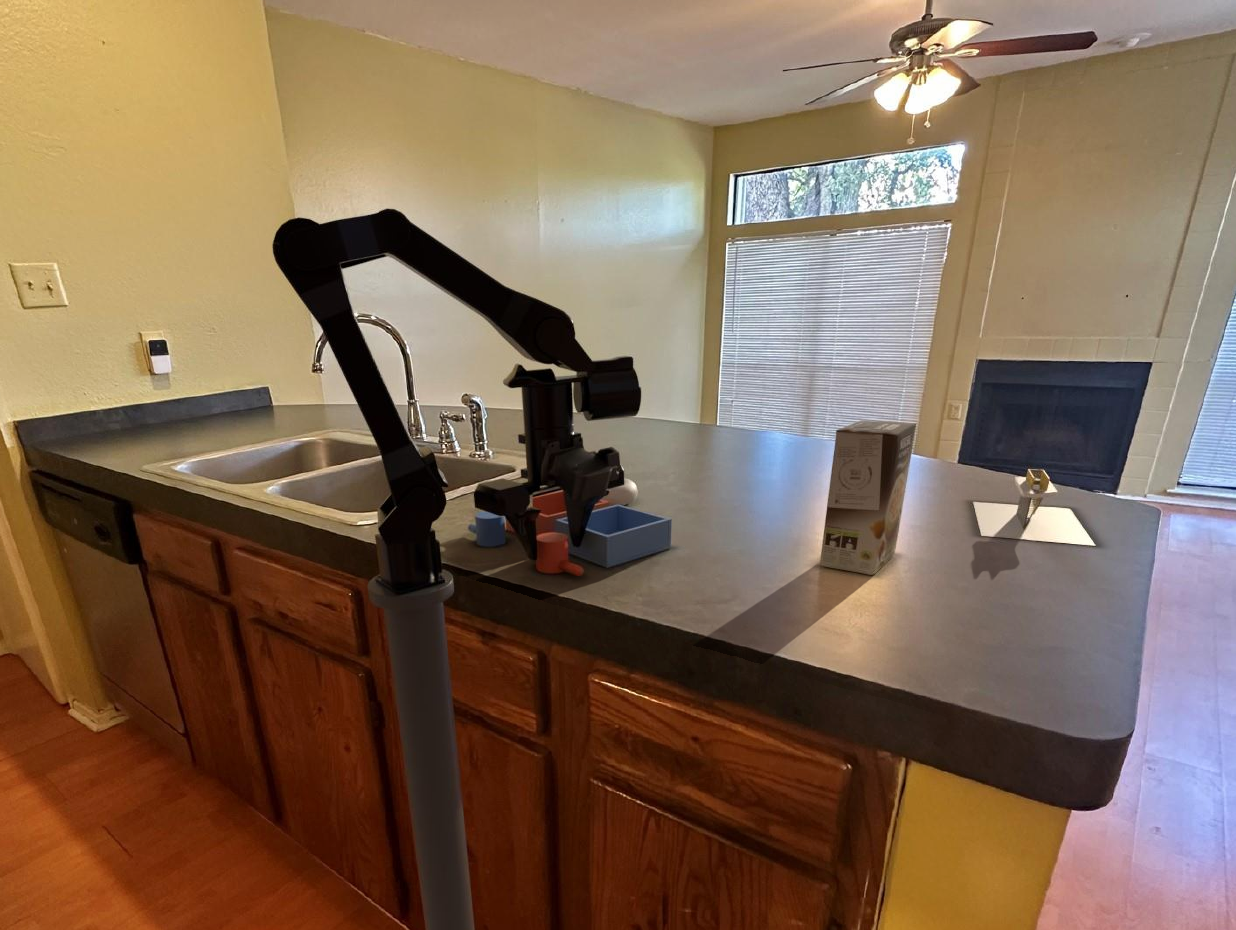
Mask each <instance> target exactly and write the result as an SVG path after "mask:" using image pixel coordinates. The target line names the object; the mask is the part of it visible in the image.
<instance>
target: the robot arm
mask: <svg viewBox="0 0 1236 930" xmlns="http://www.w3.org/2000/svg"><path fill="white" fill-rule="evenodd" d="M271 247H272V254H273V258H274V261H275V263H276V265H277V267H278V268H279V270H280V271H281V273H282V274H283V276H284V277H285V278H286V280H287V281H288V283H289V284H290V286H291V287H292V288H293V290H294V291H295V293H296V295H297V296H298V297H299V299H300V300H301V302H302V303H303V304H304V306H305V308H307V310H308V311H309V312H310V314H311V315H312V317H313V318H314V320H315V321H316V322H317V324H318V325H319V326H320V328H321V330H322V332H323V335H324V337H325V339H326V341H327V343H328V345H329V347H330V349H331V352H332V353H333V355H334V358H335V360H336V361H337V364H338V366H339V368H340V370H341V372H342V375H343V377H344V379H345V380H346V382H347V385H348V388H349V389H350V391H351V394H352V396H353V397H354V400H355V402H356V404H357V406H358V408H359V411H360V412H361V414H362V416H363V418H364V421H365V422H366V425H367V427H368V429H369V431H370V433H371V435H372V437H373V440H374V443H375V444H376V446H377V448H378V451H379V453H380V457H381V461H382V464H383V469H384V472H385V476H386V480H387V484H388V489H389V491H390V494H389V495H388V496H387V498H386V499H385V500H384V501H383V502H382V503H381V504H380V506H378V508H377V513H376V514H377V531H378V533H377V534H374V538H375V546H376V555H377V562H378V569H379V575H380V576H378V575H376V576H374V577H375V581H376V582H378V583H379V584H381V585H382V586H384V587H385V588H387V589H388V590H390V591H391V592H393V593H394V594H396V595H402V594H406V593H409V592H413V591H416V590H420V589H423V588H427V587H430V586H434V585H438V584H441V583H445V582H446V577H444V576H442V575H440V573H442V569H443V563H442V561H443V560H442V551H441V542H440V540H439V539H437V537H436V530H435V529H434V528H432V526H433V523H434V522H435V521H437V520H438V519H439V518H440V517H441V516H442V515H443V513H444V511H445V509H446V506H447V496H446V491H445V488H449V483H448V481H447V478H446V476H445V474H444V472H442V471H441V469H440V468H439V467H438V463H437V458H436V456H435V455H436V454H435V452H434V451H433V448H432V446H431V444H430V443H428V444H425V445H424V446H423V447H421V448H419V447H418V445H417V444H416V442H415V441H414V439H413V438H412V437H411V436H410V434H409V432H408V430H407V428H406V426H405V423H404V421H403V419H402V417H401V414H400V412H399V410H398V408H397V405H396V404H395V401H394V398H393V396H392V394H391V392H390V390H389V388H388V386H387V383H386V381H385V379H384V377H383V374H382V373H381V369H380V368H379V365H378V363H377V361H376V359H375V357H374V355H373V352H372V350H371V347H370V346H369V344H368V342H367V341H368V340H367V339H366V337H365V335H364V333H363V330H362V328H361V326H360V324H359V322H358V319H357V317H356V315H355V311H354V308H353V305H352V300H351V297H350V293H349V289H348V286H347V282H346V277H345V273H344V271H343V270H344V269H348V268H352V267H356V266H359V265H362V264H365V263H369V262H372V261H376V260H380V259H383V258H387V257H388V258H391V259H393V260H394V261H395V262H398V263H399V264H400V265H402V266H404V267H405V268H407V269H408V270H410V271H411V272H413V273H414V274H416V275H418V276H419V277H421V278H422V279H424V280H425V281H427V282H428V283H430V284H431V285H433V286H434V287H436V288H437V289H439V290H441V291H442V292H444V293H445V294H447V295H448V296H450V297H452V298H453V299H455V300H456V301H458V303H461V304H462V305H463V306H465V307H466V308H468V309H470V310H471V311H473V312H474V313H476V314H477V315H479V316H480V317H482V318H483V319H484V320H485V321H486V322H487V323H488V324H489V325H491V326H492V328H493V329H494V330H495V331H496V332H497V333H498V334H499V335H500V336H501V337H502V338H503V339H504V340H505V341H506V342H507V343H508V344H509V345H510V346H512V348H514V350H515V351H517V352H518V353H519V354H520V355H521V356H522V357H524V358H525V359H527V360H529V361H531V362H535V363H539V364H543V365H554V366H555V367H557V368H560V369H564V370H567V371H571V372H575V374H573V375H559V376H556V374H555V372H554V371H553V369H552V368H550V367H549V368H537V369H526V368H525V367H524V366H523V365H522V364H520V363H515V364H514V366H513V368H512V370H511V372H510V373H509V374H508V375H507V376H506V377H505V378H504V379H503V380H502V384H503V385H504V386H506V387H508V388H509V389H518V388H519V389H521V402H522V404H521V405H522V416H523V417H522V418H523V433H518V434H517V438H518V439H517V440H518V444H522V445H524V447H525V461H526V467H524V468H520V469H519V470H520V478H521V479H526V480H527V481H525V482H518V481H514V480H510V479H506V478H504V477H503V478H498V479H494V480H489V481H485V482H481V483H478V484H477V486H476V488H475V489H474V492H473V503H474V508H475V509H477V510H481V511H482V512H484V511H486V512H489V513H492V514H495V515H498V516H504V519H505V520H506V519H507V521H508V522H509V523H510V525H511V526H512V528H513V530H514V531H515V533H514V534H516V537H517V539H518V541H519V542H520V544H521V546H522V548H523V550H524V552H525V553H526V555H527V557H528V559H529V560H530V561H533V562H536V560H537V535H536V519H537V517H538V516H539V514H540V512H541V510H539V509H536V508H533V497H537V496H541V495H545V494H549V493H553V492H558V491H562V490H563V493H564V500H565V506H566V513H567V519H568V526H569V532H570V537H571V541H572V544H573V546H575V547H580V546H581V543H582V540H583V536H584V533H585V530H586V527H587V524H588V521H589V518H590V515H591V513H592V510H593V508H594V506H595V504H596V503H597V502H598V501H599V500H601V499H602V498H603V497H604V496H607V495H608V494H609V492H610V491H608V490H607V489H611V488H615V487H619V486H623V485H624V484H625V483H624V478H625V468H623V467H622V464H621V458H620V451H619V450H617V449H616V448H614V447H613V446H610V447H609V446H608V447H604V448H600V449H599V450H598V451H596V450H593V451H587V450H586V449H585V446H584V438H583V437H582V433H581V432H576V431H575V425H574V408H575V411H576V413H578V414H583V417H584V418H585V420H586V421H587V422H592V421H593V422H594V421H601V420H612V419H624V418H633V417H637V415H638V414H639V412H640V408H641V403H642V387H641V386H640V382H639V377H638V374H637V371H636V369H635V367H634V357H632V356H629V355H621V356H615V357H612V358H606V359H605V358H604V359H595V360H592V359H591V356H589V354H588V353H587V352H586V350H585V349H584V348H583V346H582V345H581V344H580V342H579V341H578V340H577V339H576V329H575V324H574V321H573V319H572V317H571V316H570V315H568V314H567V312H565V310H562V309H561V308H558V307H556V306H554V305H553V304H550V303H547V302H545V301H543V300H541V299H538V298H536V297H533V296H530V295H528V294H525V293H522V292H520V291H517V290H515V289H513V288H510V287H508V286H506V285H504V284H503V283H501V282H500V281H498V280H497V279H495V278H494V277H492V276H491V275H489V274H488V273H486V272H485V271H483V270H482V269H481V268H479V267H478V266H476V265H475V264H473V263H472V262H470V261H468V260H467V259H466V258H465V257H463V256H461V255H460V254H459V253H457V252H456V251H454V250H453V249H451V248H450V247H448V246H447V245H445V244H444V243H443V242H441V241H439V240H438V239H436V238H435V237H434V236H433V235H431V234H429V233H427V232H426V231H425V230H423V229H422V228H421V227H419V226H417V225H416V224H414V223H413V222H412V221H411V220H409V219H408V218H407V216H406V215H405V214H404V213H403V212H402V211H399V210H398V209H395V208H384V209H382V210H379V211H378V212H375V213H371V214H365V215H359V216H353V217H347V218H340V219H335V220H331V221H327V222H322V223H319V222H317V221H315V220H313V219H311V218H306V217H295V218H290V219H288V220H286V221H284V223H282V224H281V225H280V226H279V227H278V229H277V230H276V231H275V234H274V238H273V241H272V245H271Z"/></svg>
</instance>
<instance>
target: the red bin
mask: <svg viewBox="0 0 1236 930" xmlns="http://www.w3.org/2000/svg"><path fill="white" fill-rule="evenodd" d="M606 507H609V502H607V501H604V500H599V501H598V502H597V503H596V504H595V506H594V508H593V510H592V511H594V510H598V509H602V508H606ZM533 508H536V509H539V510H541V512H540V514H539V516H538V517H537V519H536V535H537V536H538V535H540V534H543V533H551V532H556V520H558V519H562V518H566V517H567V513H566V506H565V500H564V493H563V490H561V491H557V492H553V493H549V494H545V495H541V496H537V497H533ZM505 531H509V532H511V533H514V534H516V533H515V531H514V530H513V528H512V526H511V525H510V523H509V522H508V521H507V519H506V518H505Z"/></svg>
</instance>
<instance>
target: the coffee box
mask: <svg viewBox="0 0 1236 930" xmlns="http://www.w3.org/2000/svg"><path fill="white" fill-rule="evenodd" d="M916 429H917V423H916V422H905V421H901V422H900V421H887V420H886V421H884V420H877V421H873V420H859V421H856V422H854V423H851V424H849V425H847V426H843V427H841V428H838V429H836V430H835V440H834V448H833V449H834V450H833V454H832V455H833V456H832V464H831V473H830V480H829V489H828V496H827V504H826V511H825V512H826V513H825V520H824V527H823V535H822V542H821V543H822V544H821V551H820V558H819V559H820V560H819V565H820V566H821V567H824V568H832V569H837V570H842V571H849V572H854V573H859V574H864V575H870V576H873V575H875V574H876V573H877V572H878V571H879V570H880V569H881V568H883V566H885V565H886V563H887V562H889V561H890V559H892V558H893V557H894V556H895V555H896V549H897V544H898V539H899V533H900V525H901V520H902V513H903V508H904V502H905V501H904V500H905V495H906V491H907V490H906V489H907V483H908V477H909V472H910V471H909V470H910V465H911V459H912V453H913V447H914V441H915V436H916V435H915V434H916Z"/></svg>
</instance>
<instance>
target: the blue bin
mask: <svg viewBox="0 0 1236 930" xmlns="http://www.w3.org/2000/svg"><path fill="white" fill-rule="evenodd" d="M672 521H673V519H672V518H670V517H666V516H662V515H660V514H659V515H658V514H656V513H651V512H648V511H644V510H639V509H638V508H637V509H636V508H632V507H629V506H626V505H623V506H622V505H614V506H610V507H606V508H602V509H598V510H594V511H592V513H591V515H590V518H589V521H588V524H587V527H586V530H585V533H584V536H583V540H582V543H581V546H580V547H575V546H573V544H572V541H571V537H570V532H569V526H568V519H567V517H566V518H562V519H558V520H556V533H563V534H566V535H567V536H568V552H569V554H570V555H573V556H575V557H578V558H580V559H583V560H585V561H587V562H591V563H593V564H596V565H598V566H601V567H604V568H605V569H609V568H611V567H615V566H618V565H621V564H625V563H628V562H631V561H634V560H637V559H640V558H643V557H644V558H645V557H647V556H650V555H653V554H656V553H659V552H662V551H666V550H669V549H671V547H672V524H673V523H672Z"/></svg>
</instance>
